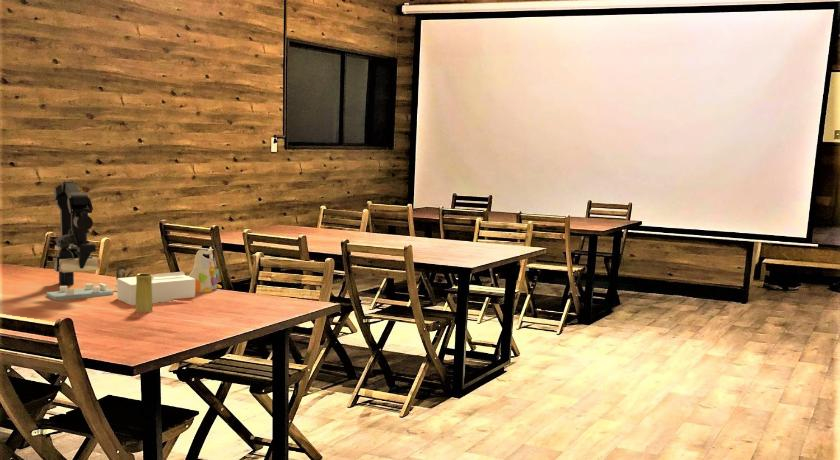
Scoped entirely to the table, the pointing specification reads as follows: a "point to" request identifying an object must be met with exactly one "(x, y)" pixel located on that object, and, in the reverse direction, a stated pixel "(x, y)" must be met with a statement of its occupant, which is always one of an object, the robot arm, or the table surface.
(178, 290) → the tissue box
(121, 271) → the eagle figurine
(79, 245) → the robot arm
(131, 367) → the table surface
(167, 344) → the table surface
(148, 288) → the vase
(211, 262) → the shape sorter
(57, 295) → the jig
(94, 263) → the beam with grey square
